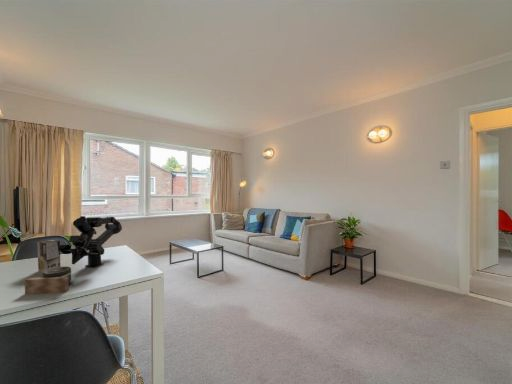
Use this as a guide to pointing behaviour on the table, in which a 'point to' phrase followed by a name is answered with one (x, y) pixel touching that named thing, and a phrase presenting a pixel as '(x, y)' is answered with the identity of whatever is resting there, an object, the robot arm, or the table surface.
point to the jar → (58, 272)
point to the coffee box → (48, 255)
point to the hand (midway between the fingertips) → (72, 264)
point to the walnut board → (46, 285)
